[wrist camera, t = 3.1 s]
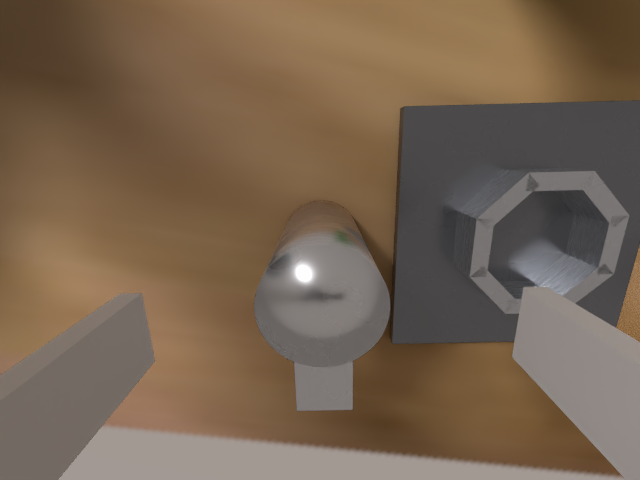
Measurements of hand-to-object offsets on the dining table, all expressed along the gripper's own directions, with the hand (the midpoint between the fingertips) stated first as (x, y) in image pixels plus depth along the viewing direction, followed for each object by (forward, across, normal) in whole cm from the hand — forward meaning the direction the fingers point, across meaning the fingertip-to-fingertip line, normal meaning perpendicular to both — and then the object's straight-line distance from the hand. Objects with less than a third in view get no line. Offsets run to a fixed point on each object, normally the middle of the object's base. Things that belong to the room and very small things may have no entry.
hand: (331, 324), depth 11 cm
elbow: (+11, 0, -1) cm, 11 cm away
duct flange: (+11, +13, 0) cm, 17 cm away
